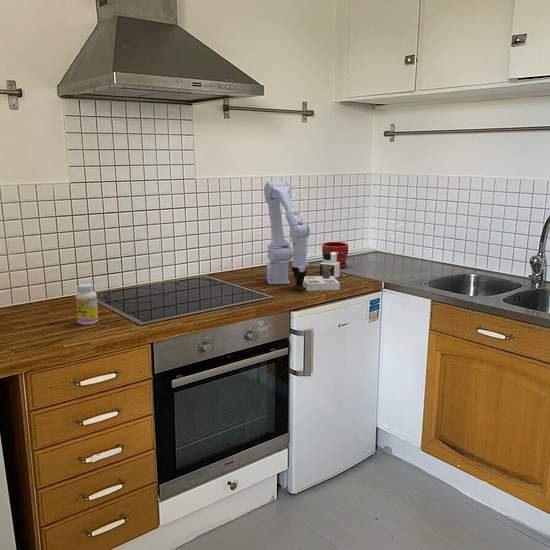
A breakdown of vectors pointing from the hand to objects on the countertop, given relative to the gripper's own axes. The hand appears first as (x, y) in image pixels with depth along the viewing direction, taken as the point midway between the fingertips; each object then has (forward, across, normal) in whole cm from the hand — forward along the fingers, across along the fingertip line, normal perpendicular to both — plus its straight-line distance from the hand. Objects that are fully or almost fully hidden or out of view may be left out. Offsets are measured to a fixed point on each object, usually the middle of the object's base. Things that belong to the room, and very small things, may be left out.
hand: (298, 285), depth 233 cm
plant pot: (+2, +46, -26) cm, 53 cm away
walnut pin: (+2, 0, 0) cm, 2 cm away
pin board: (+2, +5, -10) cm, 11 cm away
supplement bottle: (+2, -38, +78) cm, 87 cm away
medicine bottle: (+2, +22, -18) cm, 29 cm away
